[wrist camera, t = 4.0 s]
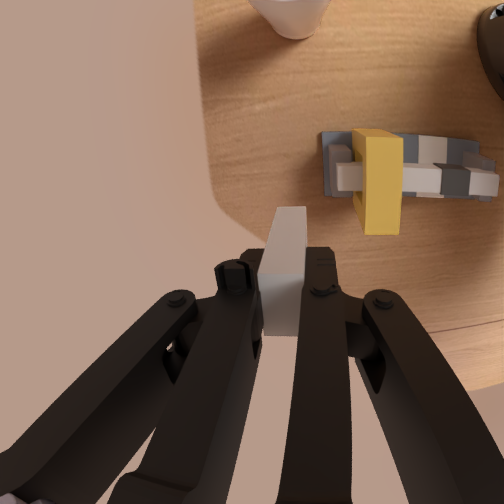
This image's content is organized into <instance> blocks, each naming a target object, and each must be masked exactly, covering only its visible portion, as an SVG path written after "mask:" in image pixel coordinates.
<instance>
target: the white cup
mask: <svg viewBox="0 0 504 504" xmlns="http://www.w3.org/2000/svg"><path fill="white" fill-rule="evenodd" d="M247 1H248V2H249V4H250V5H251V6H252V7H253V8H254V9H255V10H256V11H257V12H258V13H259V14H261V15H262V16H263V17H264V18H265V19H266V20H267V21H268V22H269V23H270V24H271V26H272V28H273V29H274V30H275V31H276V32H277V33H278V34H280V35H281V36H283V37H286V38H289V39H304V38H307V37H309V36H311V35H313V34H314V33H315V32H316V31H317V30H318V28H319V27H320V24H321V20H322V17H323V15H324V13H325V11H326V10H327V8H328V6H329V4H330V2H331V0H247Z"/></svg>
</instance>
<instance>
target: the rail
mask: <svg viewBox="0 0 504 504" xmlns="http://www.w3.org/2000/svg"><path fill="white" fill-rule="evenodd" d="M392 134H394V135H397V136H399V137H402V138H403V182H402V196H408V197H431V198H458V199H477V200H478V201H485V202H491V200H492V196H495V197H497V195H498V188H499V179H500V175H498V174H496V173H495V164H496V161H494V160H492V159H490V158H487V157H485V156H483V155H480V154H479V145H480V142H478V141H473V140H466V139H458V138H450V137H441V136H431V135H419V134H405V133H392ZM322 148H323V169H324V195H325V196H333V197H352V196H353V191H363V162H353V150H352V132H346V131H338V132H322Z"/></svg>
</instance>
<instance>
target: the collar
mask: <svg viewBox="0 0 504 504" xmlns="http://www.w3.org/2000/svg"><path fill="white" fill-rule="evenodd" d="M352 150H353V162H363V191H353V205H354V208H355V210H356V213H357V215H358V218H359V221H360V223H361V226H362V229H363V232H364V234H365V235H399V225H400V214H401V200H402V182H403V138H402V137H399V136H397V135H394V134H392V133H389V132H387V131H384V130H381V129H359V128H352Z"/></svg>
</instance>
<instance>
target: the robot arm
mask: <svg viewBox="0 0 504 504" xmlns="http://www.w3.org/2000/svg"><path fill="white" fill-rule="evenodd" d="M477 42H478V49H479V54H480V57H481V61H482V64H483V67H484V69H485V72H486V74H487V76H488V78H489V80H490V82H491V84H492V85H493V87H494V89H495V90H496V92H497V93H498V94H499V96H500V97H501V98H502V99H503V101H504V3H501V4H498V5H495V6H492V7H490V8H488V9H487V10H485V11H484V13H483V14H482V15H481V17H480V20H479V23H478V28H477ZM214 271H215V276H216V281H217V286H218V290H217V293H216V295H215V296H213V297H208V298H203V299H197V300H196V298H195V295H194V294H193V293H192V292H191V291H188V290H174V291H172V292H169V293H167V294H165V295H164V296H163V297H161V298H160V299H159V300H158V301H157V302H156V303H155V304H154V305H153V306H152V307H151V308H150V309H149V310H147V311H146V312H145V313H144V314H143V315H142V316H141V317H140V318H139V319H138V320H137V321H136V322H135V323H134V324H133V325H132V326H131V327H130V328H129V329H128V330H126V331H125V332H124V333H123V334H122V335H121V336H120V337H119V338H118V339H117V340H116V341H115V342H114V343H113V344H112V345H111V346H110V347H109V348H108V349H107V350H106V351H105V352H104V353H103V354H102V355H101V356H100V357H99V358H98V359H97V360H96V361H95V362H94V363H92V364H91V366H89V367H88V368H87V369H86V370H85V371H84V372H83V373H82V374H81V375H80V376H79V377H78V378H77V380H75V381H74V382H73V383H72V384H71V385H70V386H69V387H68V388H67V389H66V390H65V391H64V392H63V393H62V394H61V395H60V397H58V398H57V399H56V400H55V401H54V403H52V404H51V406H50V407H49V408H48V409H47V410H46V411H45V412H44V413H43V414H42V415H41V416H40V417H39V418H38V419H37V420H36V421H35V422H34V423H33V424H32V425H31V426H30V427H29V428H28V429H27V430H26V431H25V433H23V435H22V436H21V437H20V438H19V439H18V440H17V441H16V442H15V443H14V444H13V445H12V446H11V447H10V448H9V449H7V450H6V451H4V452H2V453H0V504H95V503H96V502H97V501H98V500H99V499H100V497H101V496H102V495H103V494H104V492H105V491H106V490H107V489H108V488H109V486H110V485H111V484H112V482H113V481H114V480H115V479H116V478H117V476H118V475H119V474H120V473H121V471H122V470H123V469H124V467H125V466H126V465H127V464H128V462H129V461H130V460H131V459H132V457H133V456H134V455H135V453H136V452H137V451H138V449H139V448H140V447H141V446H142V444H143V443H144V442H145V441H146V439H147V438H148V437H149V435H150V434H151V433H152V432H153V430H154V429H155V428H156V429H155V431H154V433H153V436H152V438H151V440H150V443H149V445H148V447H147V450H146V452H145V454H144V457H143V459H142V461H141V464H140V465H139V467H138V468H137V470H135V471H133V472H129V473H125V474H124V475H123V476H122V477H120V478H119V480H118V482H117V483H116V485H115V487H114V489H113V491H112V494H111V496H110V498H109V500H108V502H107V504H226V500H227V496H228V492H229V488H230V484H231V481H232V476H233V472H234V468H235V464H236V460H237V456H238V451H239V448H240V443H241V439H242V435H243V431H244V426H245V422H246V418H247V413H248V409H249V404H250V400H251V395H252V391H253V386H254V382H255V377H256V373H257V368H258V363H259V359H260V354H261V349H262V337H261V333H262V329H263V330H264V335H265V336H298V342H297V353H296V363H295V373H294V382H293V392H292V400H291V408H290V417H289V424H288V432H287V439H286V446H285V453H284V460H283V467H282V473H281V480H280V485H279V492H278V496H277V501H276V503H275V504H353V503H352V499H351V482H352V481H351V480H352V421H351V395H350V378H349V377H350V376H349V362H348V356H349V357H354V358H355V362H356V365H357V367H358V370H359V372H360V374H361V377H362V379H363V382H364V384H365V387H366V389H367V391H368V394H369V396H370V399H371V401H372V404H373V406H374V409H375V411H376V414H377V416H378V419H379V421H380V424H381V427H382V429H383V432H384V435H385V437H386V440H387V442H388V445H389V448H390V450H391V453H392V456H393V459H394V461H395V464H396V467H397V470H398V472H399V476H400V478H401V481H402V484H403V487H404V490H405V493H406V496H407V499H408V502H409V504H504V458H503V456H502V454H501V453H500V451H499V449H498V447H497V445H496V443H495V441H494V439H493V437H492V435H491V434H490V432H489V430H488V428H487V426H486V425H485V423H484V421H483V419H482V417H481V416H480V414H479V412H478V410H477V409H476V407H475V405H474V404H473V402H472V400H471V399H470V397H469V395H468V394H467V392H466V390H465V389H464V387H463V386H462V384H461V382H460V381H459V379H458V378H457V376H456V375H455V373H454V372H453V370H452V368H451V367H450V365H449V364H448V362H447V361H446V359H445V358H444V356H443V355H442V353H441V352H440V350H439V349H438V348H437V346H436V345H435V343H434V342H433V340H432V339H431V337H430V336H429V335H428V333H427V332H426V330H425V329H424V328H423V326H422V325H421V323H420V322H419V321H418V319H417V318H416V316H415V315H414V314H413V312H412V311H411V310H410V308H409V307H408V306H407V304H406V303H405V302H404V300H403V299H402V298H401V297H400V296H399V295H398V294H397V293H395V292H392V291H390V290H385V289H378V290H373V291H370V292H368V293H367V294H366V295H365V297H364V299H360V298H356V297H352V296H349V295H347V294H345V293H344V292H343V291H342V290H341V287H340V285H339V284H338V277H337V269H336V261H335V254H334V252H333V251H332V250H331V249H330V248H329V247H307V216H306V206H290V207H277V209H276V212H275V216H274V219H273V223H272V226H271V229H270V233H269V236H268V240H267V243H266V246H265V249H248V250H246V251H245V252H244V253H242V254H241V256H240V259H232V260H227V261H224V262H222V263H220V264H218V265H217V266H216V267H215V268H214ZM171 343H172V345H173V346H172V347H171V348H170V349H169V350H167V349H166V348H167V347H168V346H169V345H170V344H171Z"/></svg>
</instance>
